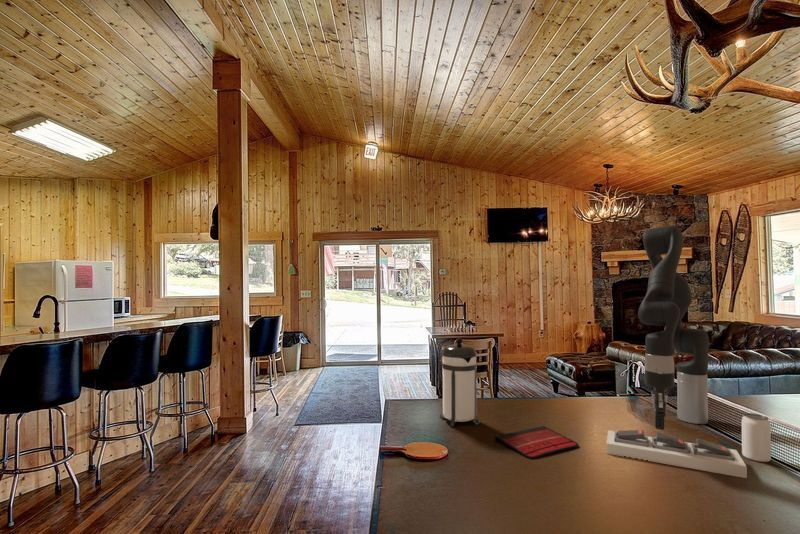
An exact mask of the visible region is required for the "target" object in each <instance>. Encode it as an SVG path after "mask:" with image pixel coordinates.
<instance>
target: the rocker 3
mask: <svg viewBox="0 0 800 534" xmlns="http://www.w3.org/2000/svg"><path fill="white" fill-rule="evenodd" d="M695 444H697V446H698V447H699V448H702V449H705V450H708V451H711V452H714V453H717V454H720V455H723V456H729V451H728V450H727V449H728V448H727V447H726V446H723V445H721V444H717V443H715V442H711V441H708V440H705V439H701V438H699V437H696V439H695Z"/></svg>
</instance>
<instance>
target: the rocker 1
mask: <svg viewBox="0 0 800 534" xmlns="http://www.w3.org/2000/svg"><path fill="white" fill-rule="evenodd" d="M644 431H645V430H644V429H633V430H632V429H630V430H618V431H617V432H618V438H619V439H645V436H646V435H645V432H644Z"/></svg>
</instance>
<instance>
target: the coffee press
mask: <svg viewBox="0 0 800 534" xmlns="http://www.w3.org/2000/svg"><path fill="white" fill-rule="evenodd" d="M455 342H456V343H454V344H448V345H446V346H444V348H443V349H442V351H441V355H442V362H441V368H442V412H441V413H440V415H439V418H440V419H444V418H445V419H447V420H449V421H450V425H449V426H450V428H455V427H456V424H457V422H458V423H459V422H460V423H462V422H463V423H465V422H469V421H472V422H473V423H474V424H475V425H479V424H480V423H481V421H480V418H479V417H478V414H477V413H478V411H477V409H478V407H477V405H478V403H477V402H478V401H477V397H478V396H477V394H478V393H477V383H478V382H477V380H478V379H477V368H478V367H477V365H478V363H477V356H478V352H477V351H476V349H475V347H473V346H471V345H469V344H462V343H463V339H462V338H460V337H459V338H457V339H456V340H455ZM442 415H443V416H442ZM475 419H476V420H475Z"/></svg>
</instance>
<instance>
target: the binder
mask: <svg viewBox="0 0 800 534" xmlns="http://www.w3.org/2000/svg"><path fill="white" fill-rule="evenodd" d="M494 441H495V442H502V443H504V444H503V447H505V448H508V449H509V450H511V451H513V452H515V453H516V454H518V455H519V456H522V457H524V458H527V459H530V460H536V459H539V458H542V457H545V456H548V455H551V454H556V453H558V452H562V451H567V450H575V449H578V448H579V443H578V442H576V441H574V440H573V439H571V438H568V437H566V436H565V435H563V434H560V433H559V432H557V431H554V430H552V429H550V428H548V427H547V426H543V425H541V426H537V427H532V428H528V429H524V430H519V431H514V432H510V433H503V434H500V435H495V436H494Z"/></svg>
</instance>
